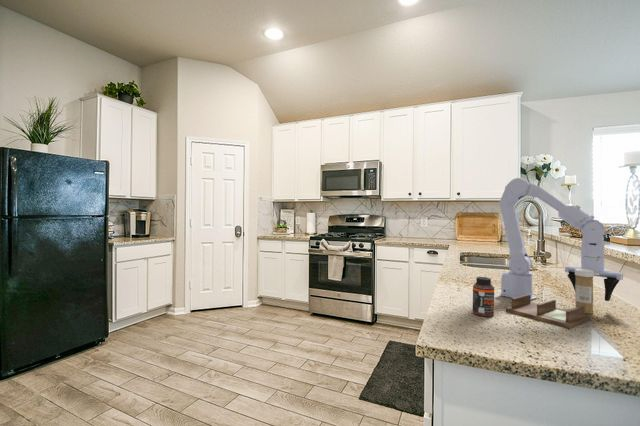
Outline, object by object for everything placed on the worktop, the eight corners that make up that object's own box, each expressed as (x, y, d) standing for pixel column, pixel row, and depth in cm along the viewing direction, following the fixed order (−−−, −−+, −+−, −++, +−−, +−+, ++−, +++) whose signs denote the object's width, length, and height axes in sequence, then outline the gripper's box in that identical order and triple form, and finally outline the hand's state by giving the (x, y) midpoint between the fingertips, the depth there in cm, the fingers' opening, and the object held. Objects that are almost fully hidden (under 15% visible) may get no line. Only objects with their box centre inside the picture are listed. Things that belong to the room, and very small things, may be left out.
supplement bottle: (486, 318, 92) (486, 280, 92) (468, 312, 98) (468, 277, 98) (498, 315, 95) (498, 278, 95) (480, 310, 100) (480, 275, 100)
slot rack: (505, 311, 99) (505, 298, 99) (528, 304, 106) (528, 292, 106) (569, 328, 85) (569, 313, 85) (590, 319, 92) (590, 305, 92)
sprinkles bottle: (595, 312, 98) (595, 270, 98) (590, 315, 96) (590, 271, 96) (577, 308, 102) (577, 267, 102) (572, 311, 99) (572, 269, 99)
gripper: (626, 258, 98) (626, 301, 98) (571, 253, 110) (571, 291, 110) (618, 260, 94) (618, 304, 94) (562, 254, 107) (562, 293, 107)
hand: (592, 297), depth 102 cm, fingers open, 7 cm apart
